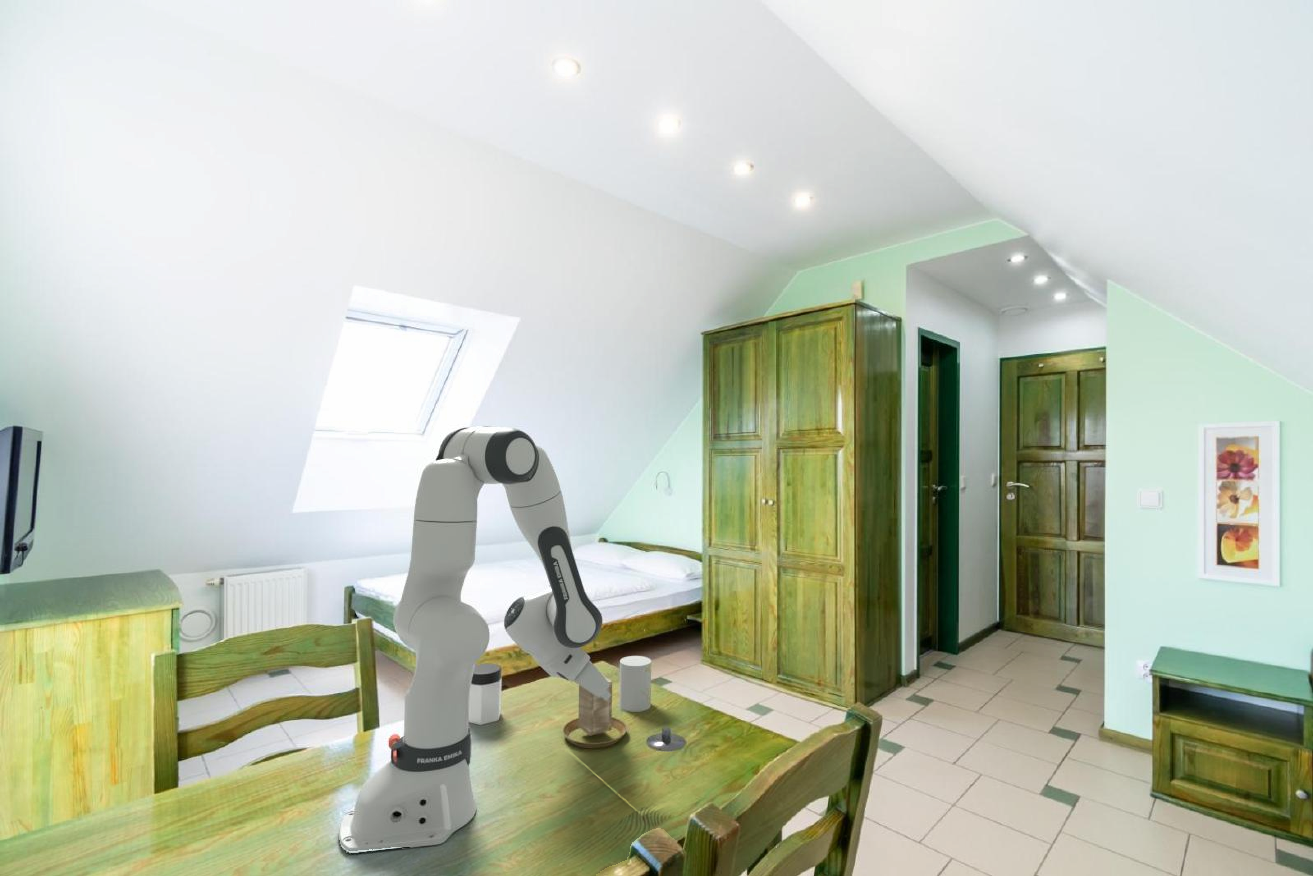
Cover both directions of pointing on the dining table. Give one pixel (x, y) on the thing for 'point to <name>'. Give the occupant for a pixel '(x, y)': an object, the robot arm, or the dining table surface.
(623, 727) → the plant saucer
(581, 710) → the vase
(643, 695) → the white cylinder
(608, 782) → the dining table surface
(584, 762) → the dining table surface
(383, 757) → the dining table surface
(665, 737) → the metal lid
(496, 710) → the jar
